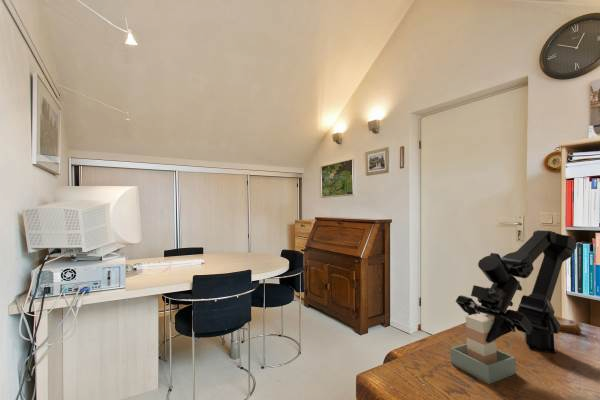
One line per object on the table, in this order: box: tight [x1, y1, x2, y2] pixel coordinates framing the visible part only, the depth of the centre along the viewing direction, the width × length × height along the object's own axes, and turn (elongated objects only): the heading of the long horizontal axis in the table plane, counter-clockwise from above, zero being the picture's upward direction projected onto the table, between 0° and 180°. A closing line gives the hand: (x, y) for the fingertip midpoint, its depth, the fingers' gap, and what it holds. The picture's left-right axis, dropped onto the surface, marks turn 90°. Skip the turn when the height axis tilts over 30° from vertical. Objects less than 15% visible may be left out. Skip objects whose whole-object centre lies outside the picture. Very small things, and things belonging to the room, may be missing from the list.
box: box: [449, 342, 517, 385], centre depth 80 cm, size 11×11×4 cm
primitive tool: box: [559, 323, 582, 336], centre depth 106 cm, size 19×6×4 cm, turn 56°
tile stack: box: [465, 313, 497, 365], centre depth 80 cm, size 5×5×12 cm
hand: (477, 337), depth 80 cm, fingers closed on tile stack, 5 cm apart
